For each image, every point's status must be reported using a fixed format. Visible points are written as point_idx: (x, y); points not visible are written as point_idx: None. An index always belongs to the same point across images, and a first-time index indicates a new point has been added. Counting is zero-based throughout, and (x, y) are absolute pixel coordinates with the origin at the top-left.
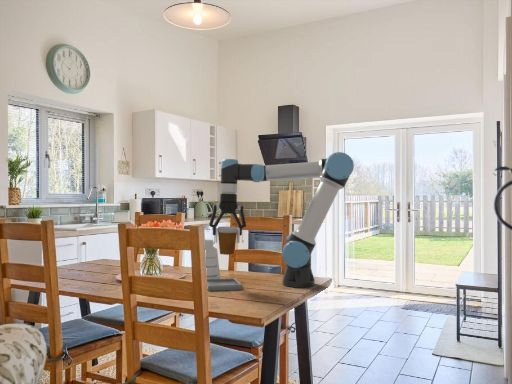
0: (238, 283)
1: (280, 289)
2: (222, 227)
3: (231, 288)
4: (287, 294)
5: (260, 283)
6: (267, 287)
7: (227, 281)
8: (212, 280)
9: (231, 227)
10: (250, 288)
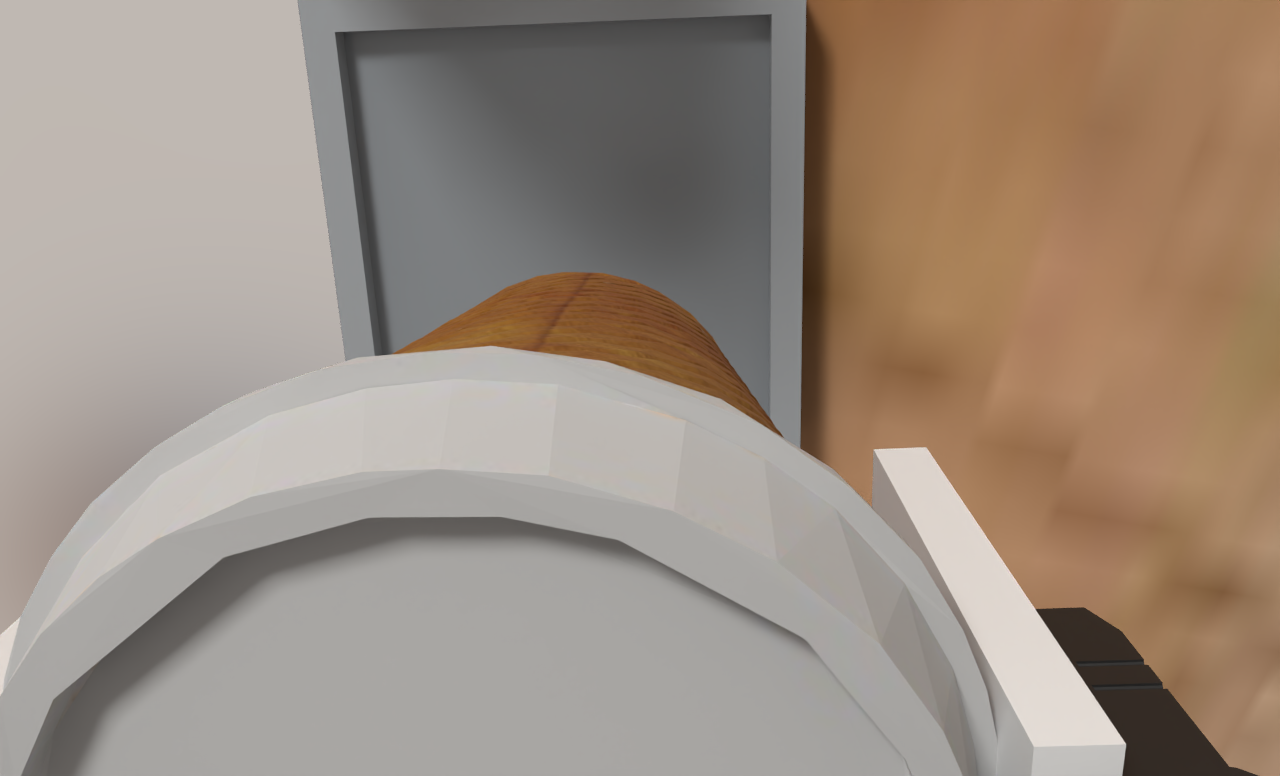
0: (770, 391)
1: (1267, 506)
2: (218, 589)
3: None
4: (1225, 745)
5: (1167, 78)
6: (1156, 367)
7: (662, 94)
8: (437, 27)
9: (756, 593)
10: (918, 387)
